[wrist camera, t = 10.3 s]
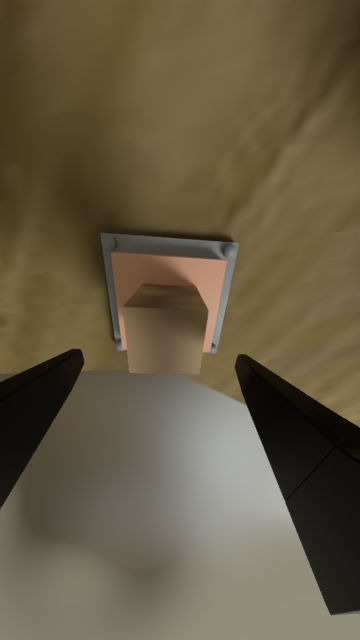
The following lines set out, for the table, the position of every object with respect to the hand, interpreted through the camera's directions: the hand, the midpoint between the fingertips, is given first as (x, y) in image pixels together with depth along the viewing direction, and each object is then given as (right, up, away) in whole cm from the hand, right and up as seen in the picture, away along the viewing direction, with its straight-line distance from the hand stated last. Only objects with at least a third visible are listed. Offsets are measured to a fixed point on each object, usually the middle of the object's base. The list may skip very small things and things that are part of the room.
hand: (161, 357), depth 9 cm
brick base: (0, +4, +9) cm, 10 cm away
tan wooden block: (0, +3, +6) cm, 7 cm away
